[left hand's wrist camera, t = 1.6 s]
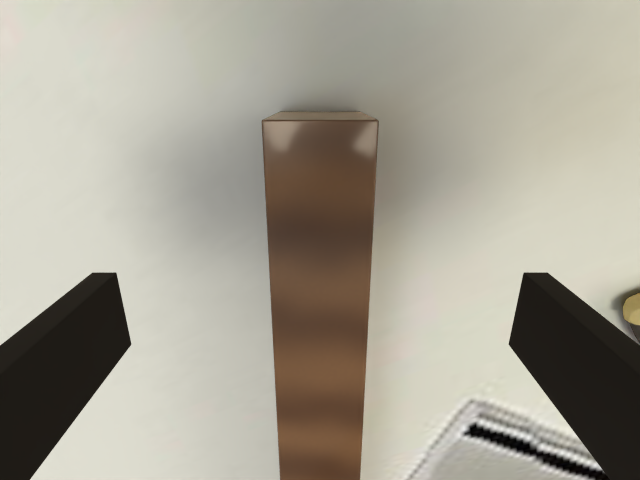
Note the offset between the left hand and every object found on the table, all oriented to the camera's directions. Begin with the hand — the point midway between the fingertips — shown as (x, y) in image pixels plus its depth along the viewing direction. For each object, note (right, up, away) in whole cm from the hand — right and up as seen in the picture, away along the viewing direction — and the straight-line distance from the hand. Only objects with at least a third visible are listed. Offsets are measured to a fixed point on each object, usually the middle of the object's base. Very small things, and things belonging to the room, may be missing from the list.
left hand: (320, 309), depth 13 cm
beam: (0, -25, +24) cm, 35 cm away
